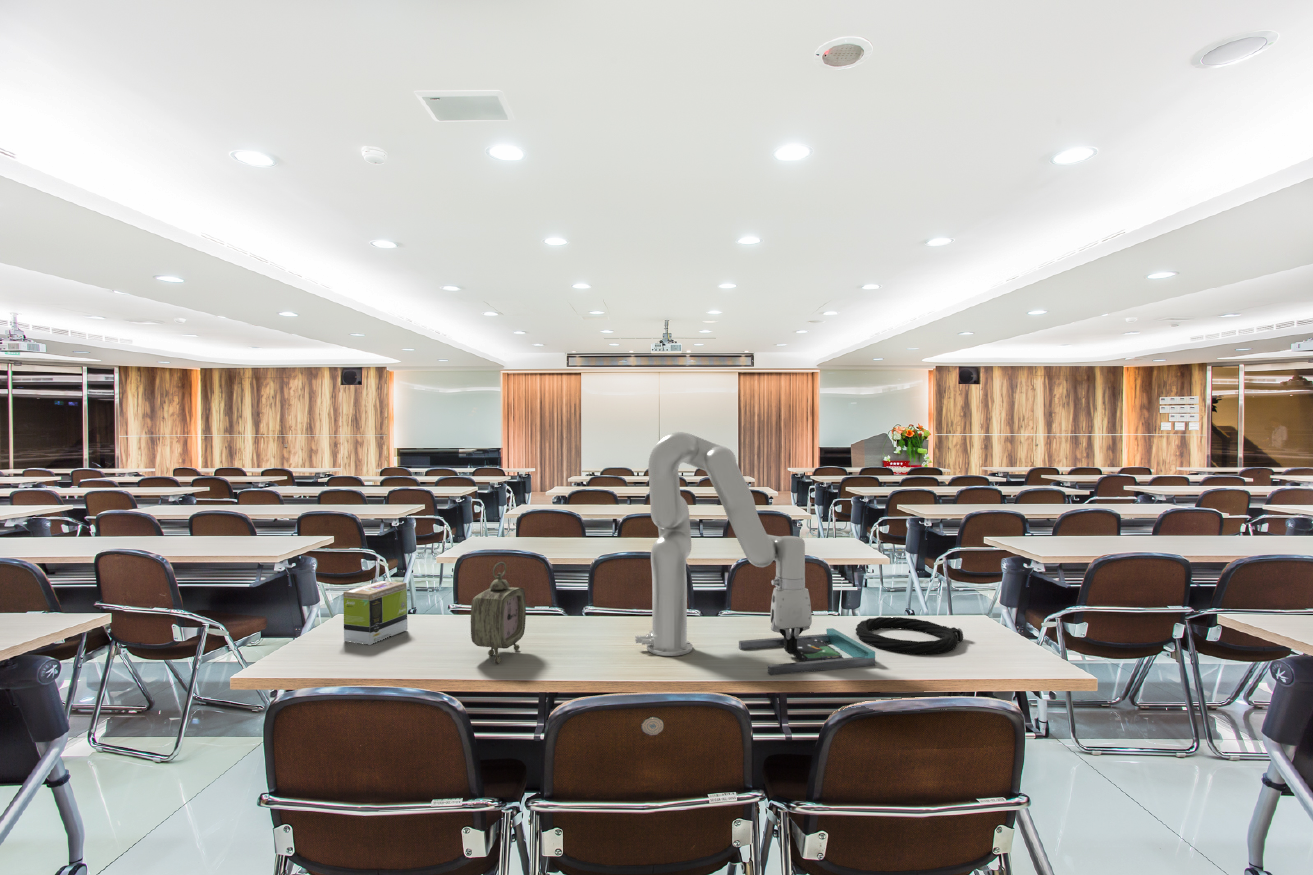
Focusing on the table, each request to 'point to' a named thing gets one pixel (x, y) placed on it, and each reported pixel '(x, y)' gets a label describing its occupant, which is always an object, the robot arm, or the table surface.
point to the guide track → (856, 650)
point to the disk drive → (815, 651)
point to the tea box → (375, 612)
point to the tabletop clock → (498, 616)
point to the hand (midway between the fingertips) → (790, 652)
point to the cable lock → (906, 646)
